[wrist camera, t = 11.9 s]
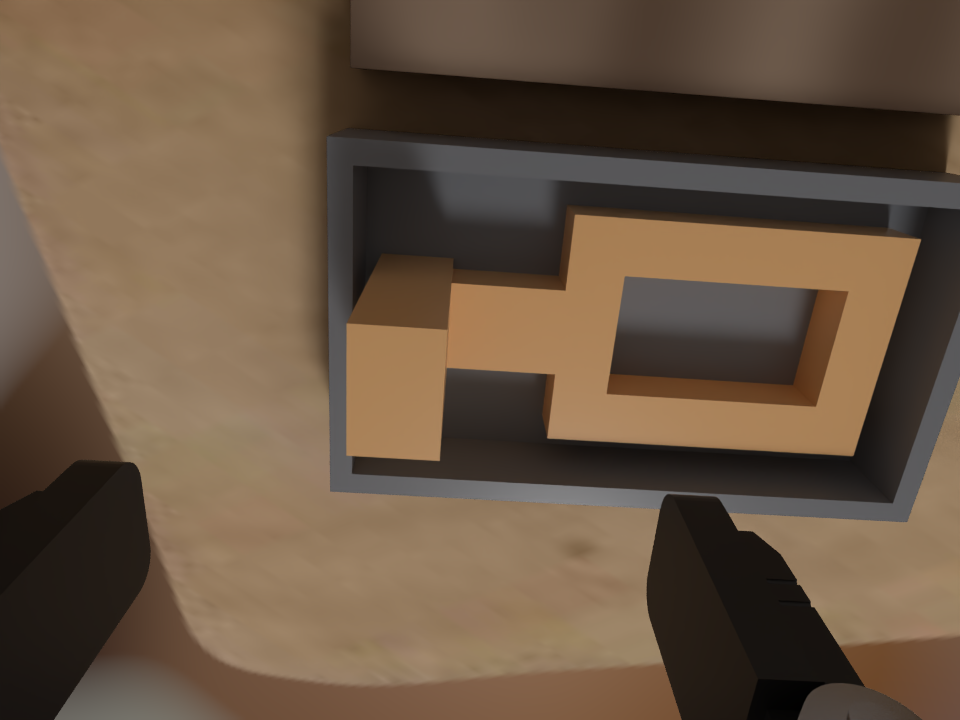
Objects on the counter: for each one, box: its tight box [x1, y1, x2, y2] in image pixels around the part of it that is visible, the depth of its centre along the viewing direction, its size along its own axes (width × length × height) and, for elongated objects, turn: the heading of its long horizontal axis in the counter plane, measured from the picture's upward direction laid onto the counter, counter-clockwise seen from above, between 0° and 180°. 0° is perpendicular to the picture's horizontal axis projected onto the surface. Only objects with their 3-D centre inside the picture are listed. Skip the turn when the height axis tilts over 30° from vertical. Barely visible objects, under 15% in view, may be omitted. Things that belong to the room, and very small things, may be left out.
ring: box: [346, 205, 921, 461], centre depth 17 cm, size 14×6×6 cm, turn 86°
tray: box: [327, 128, 960, 522], centre depth 19 cm, size 17×10×3 cm, turn 86°
